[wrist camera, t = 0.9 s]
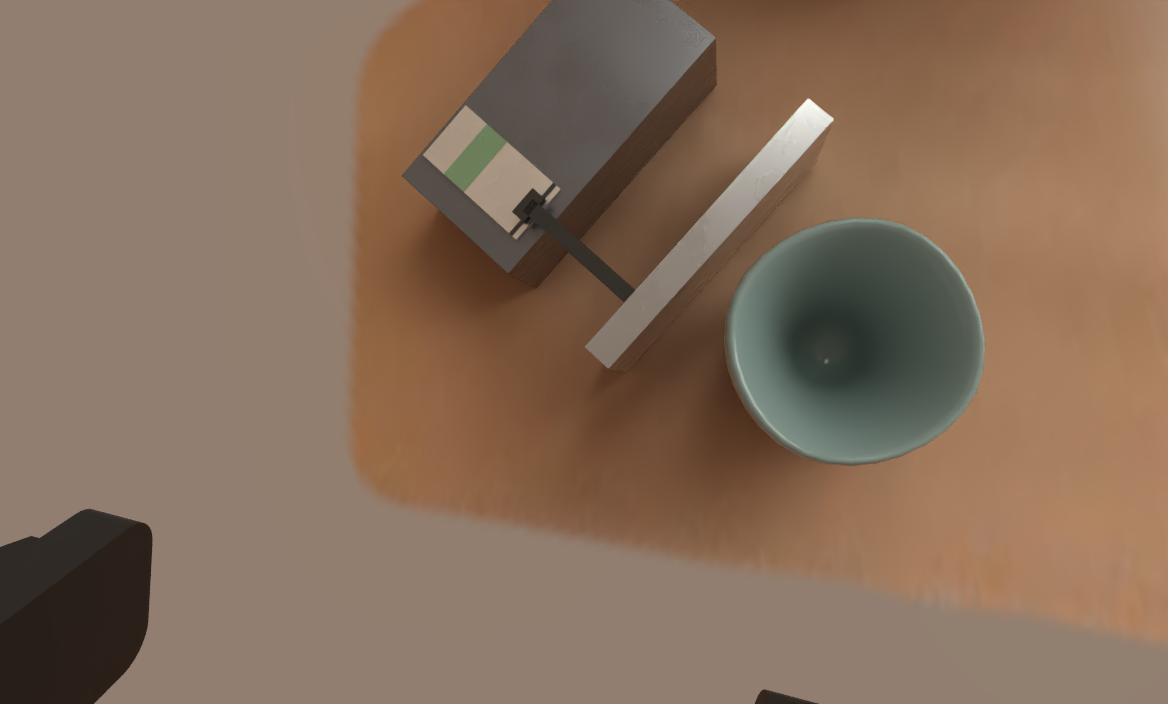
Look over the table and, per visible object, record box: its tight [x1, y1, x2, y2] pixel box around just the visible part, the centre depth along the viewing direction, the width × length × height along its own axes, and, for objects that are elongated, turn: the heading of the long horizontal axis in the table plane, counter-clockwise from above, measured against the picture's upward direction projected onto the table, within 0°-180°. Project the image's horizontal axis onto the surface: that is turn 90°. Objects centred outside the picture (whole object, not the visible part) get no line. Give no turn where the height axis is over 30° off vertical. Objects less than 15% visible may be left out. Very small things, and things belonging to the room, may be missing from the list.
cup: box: [724, 218, 985, 466], centre depth 31 cm, size 8×8×10 cm
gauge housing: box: [402, 0, 717, 288], centre depth 35 cm, size 12×6×5 cm, turn 138°
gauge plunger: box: [512, 98, 834, 372], centre depth 34 cm, size 12×7×6 cm, turn 138°
